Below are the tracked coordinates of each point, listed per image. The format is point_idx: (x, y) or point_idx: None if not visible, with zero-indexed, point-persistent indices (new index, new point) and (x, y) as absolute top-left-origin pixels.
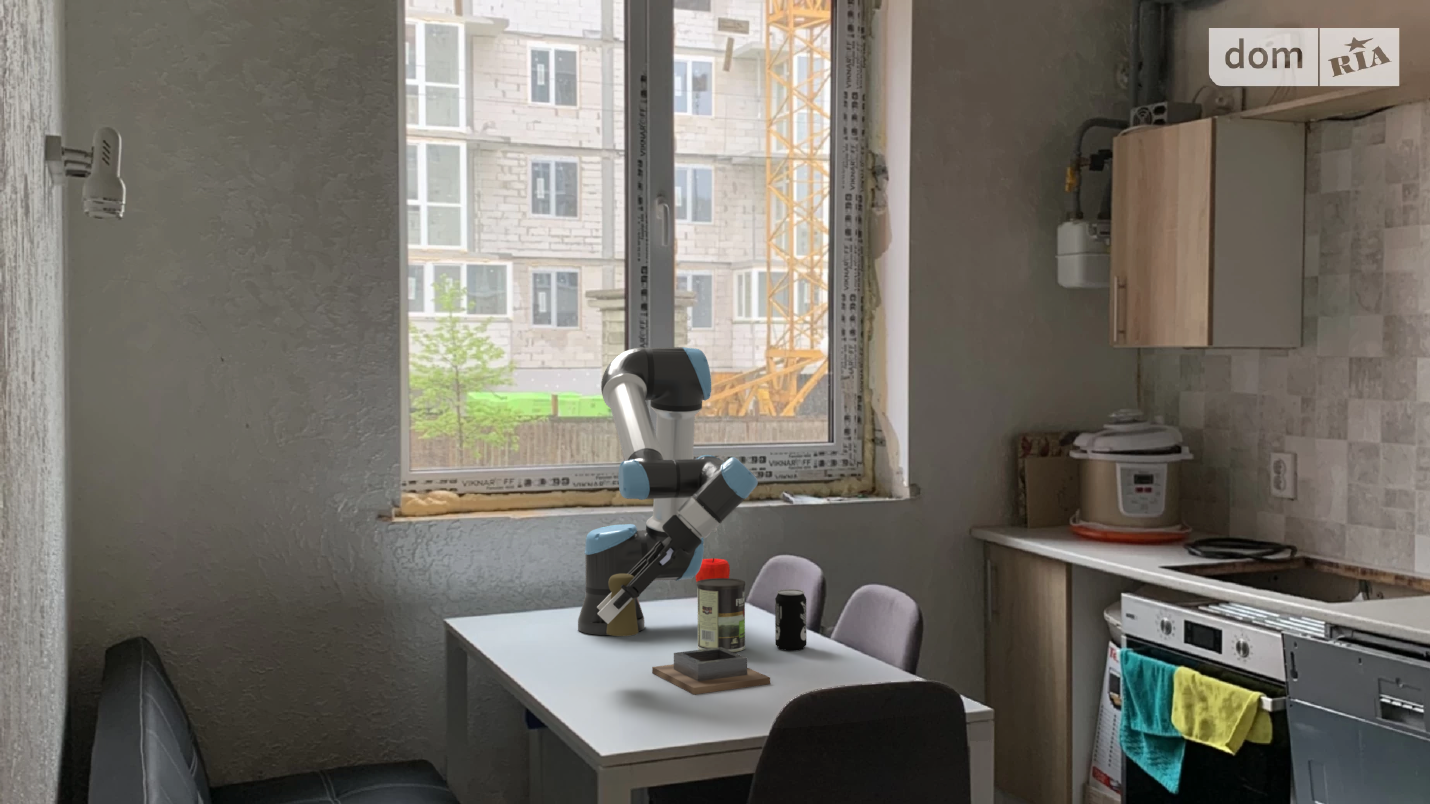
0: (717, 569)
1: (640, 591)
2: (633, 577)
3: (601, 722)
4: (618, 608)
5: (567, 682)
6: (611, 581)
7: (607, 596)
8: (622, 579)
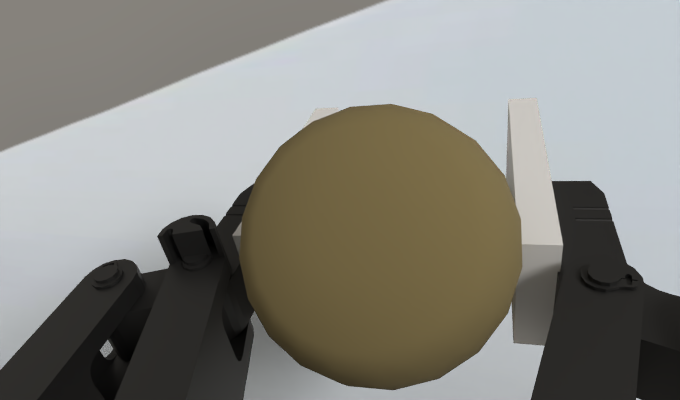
0: None
1: (101, 374)
2: (310, 359)
3: (71, 193)
4: None
5: (477, 97)
6: (302, 129)
7: (534, 146)
8: (242, 229)
